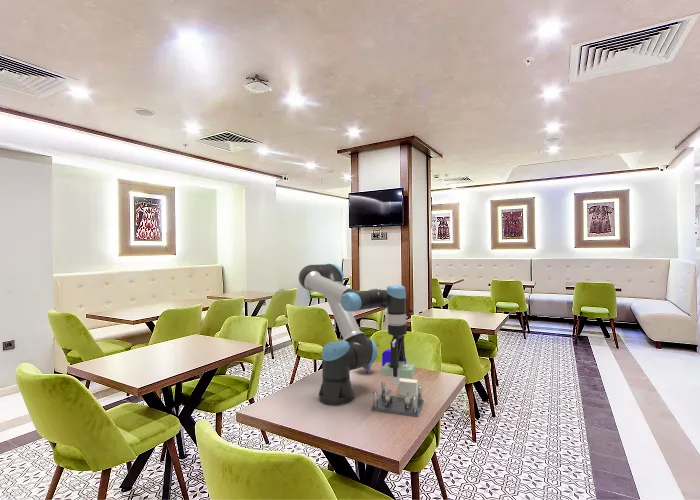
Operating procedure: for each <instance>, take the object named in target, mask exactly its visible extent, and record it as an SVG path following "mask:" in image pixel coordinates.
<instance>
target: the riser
mask: <svg viewBox="0 0 700 500" xmlns="http://www.w3.org/2000/svg"><path fill="white" fill-rule="evenodd" d="M418 387H419V379H412V378H400V385H397V395H398V396H403V397H404V396H407V392H411V393H412V398H413V397H417V398H418Z"/></svg>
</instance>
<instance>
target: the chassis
mask: <svg viewBox="0 0 700 500" xmlns="http://www.w3.org/2000/svg"><path fill="white" fill-rule="evenodd" d="M380 391H381V395H380V396H379V397H378V391H373V394H372V395H373V396H372V397H373V402H372V403H373V404H372V407H371V411H373V412H379V413H385V414H386V413H388V414H395V415H401V416H402V415H403V416H406V417H407V416H410V417H416V418H417V417H419V415H420V413H421V410H422V408H423V405H424V403H425V400H424V399H423V386H421V385H418V395H417V397H412V393H411V392H407V396H404V395H403V396H397V395H393V390H392V389H387V392H386V382H384V381H383V382H381V389H380Z"/></svg>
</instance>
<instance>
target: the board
mask: <svg viewBox="0 0 700 500" xmlns="http://www.w3.org/2000/svg"><path fill="white" fill-rule="evenodd" d="M390 364H391V363H386V364H385V365H384V366H383V367H382V366H381V367H380V368H381V371H380V373H381V374H380V375H381V377H382V376H383V377H392V368H390ZM415 374H416V364H410V363H406V364H399V377H401V378H404V379H412V378H413V377H414V375H415Z"/></svg>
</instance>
